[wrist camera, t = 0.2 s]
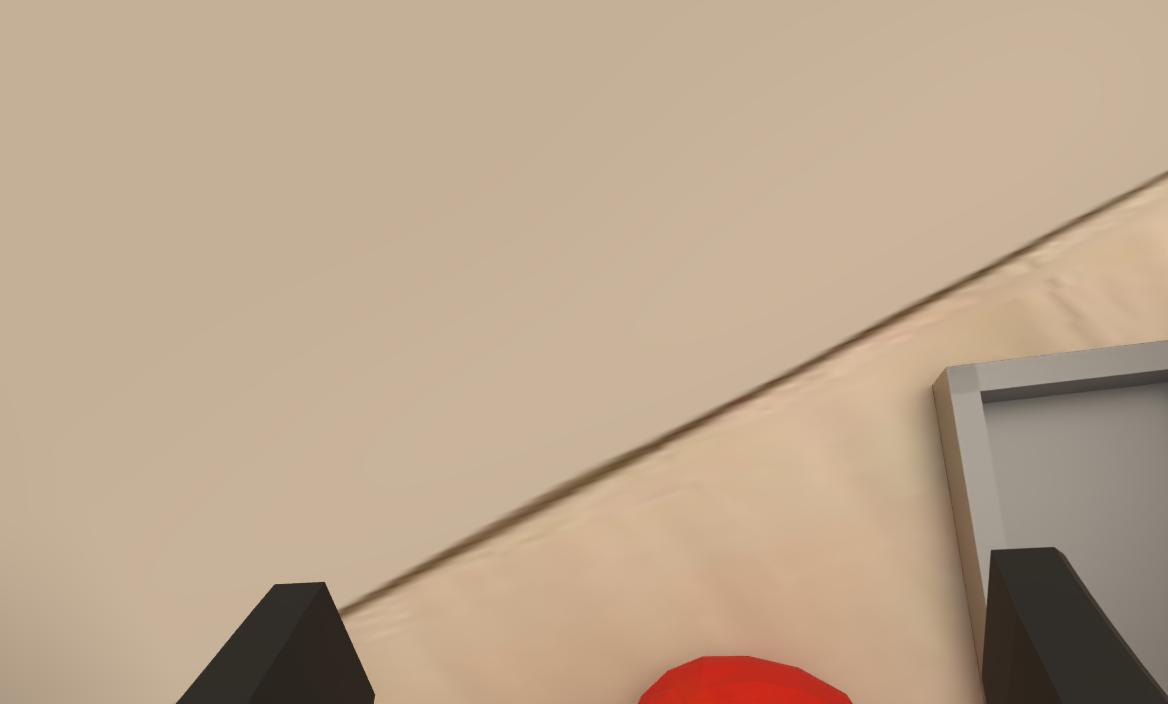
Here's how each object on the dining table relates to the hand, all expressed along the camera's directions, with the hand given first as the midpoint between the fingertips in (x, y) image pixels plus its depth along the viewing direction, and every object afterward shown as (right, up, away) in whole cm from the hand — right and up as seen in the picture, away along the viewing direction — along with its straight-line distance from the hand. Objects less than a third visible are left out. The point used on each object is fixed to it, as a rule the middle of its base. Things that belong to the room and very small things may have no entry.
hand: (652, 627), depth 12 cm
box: (+18, -4, +28) cm, 34 cm away
